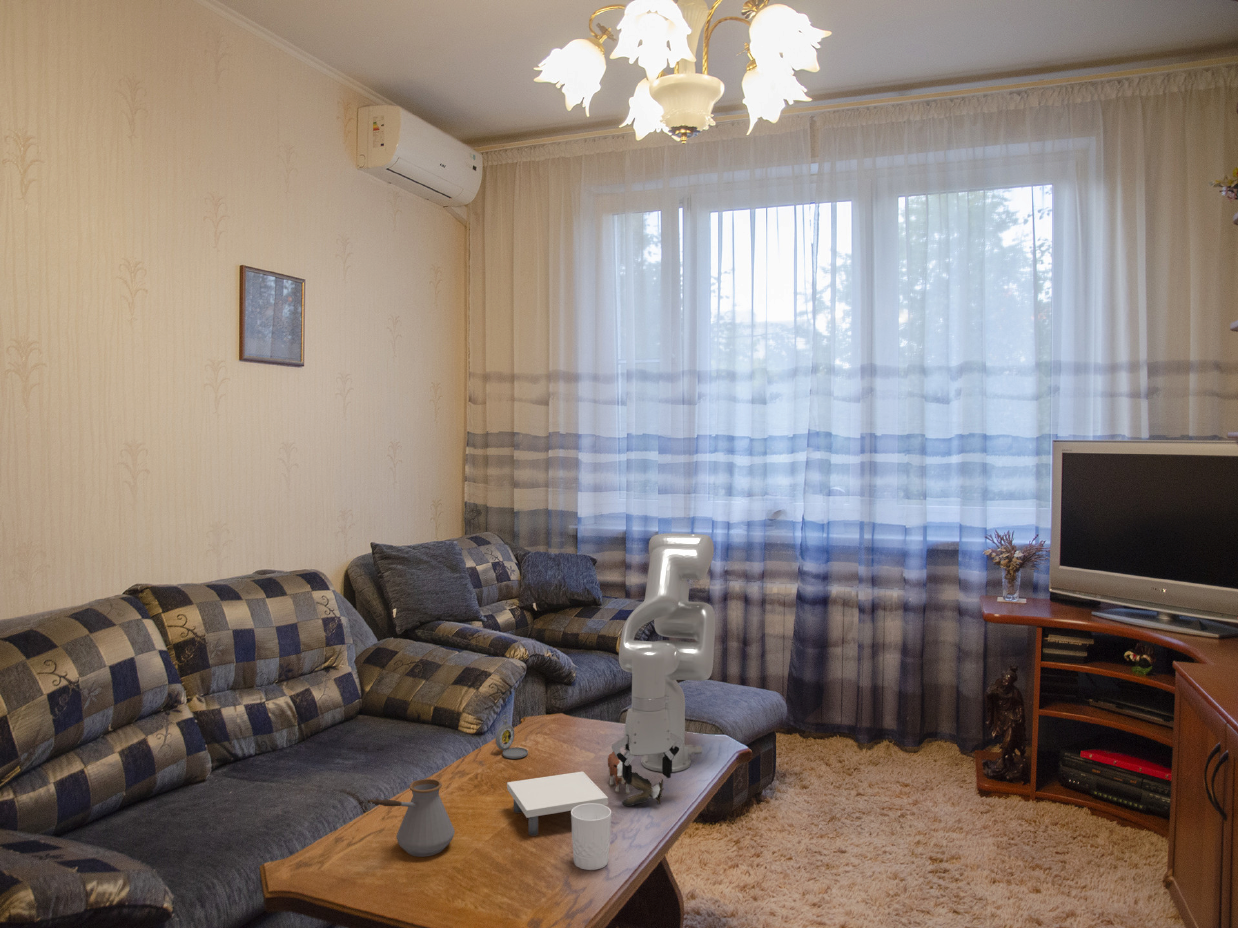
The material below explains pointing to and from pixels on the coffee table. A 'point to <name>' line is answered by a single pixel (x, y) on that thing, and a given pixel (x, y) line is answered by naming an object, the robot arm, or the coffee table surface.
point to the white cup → (591, 835)
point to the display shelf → (553, 795)
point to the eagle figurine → (647, 790)
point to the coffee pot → (422, 819)
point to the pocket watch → (508, 742)
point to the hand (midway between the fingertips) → (647, 778)
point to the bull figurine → (616, 772)
